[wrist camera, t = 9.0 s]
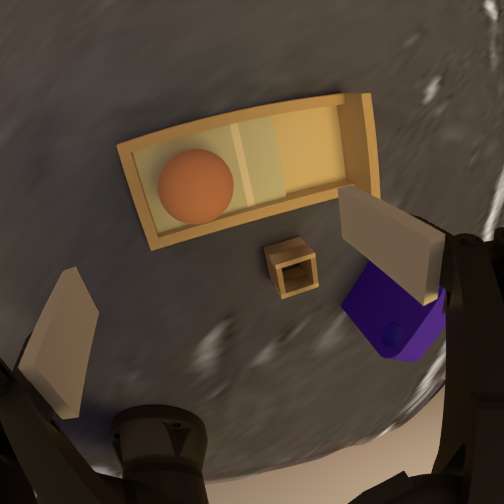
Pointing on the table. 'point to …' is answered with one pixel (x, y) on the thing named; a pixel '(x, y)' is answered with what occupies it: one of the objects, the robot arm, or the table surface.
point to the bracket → (393, 316)
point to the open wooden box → (295, 277)
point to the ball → (195, 186)
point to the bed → (260, 160)
